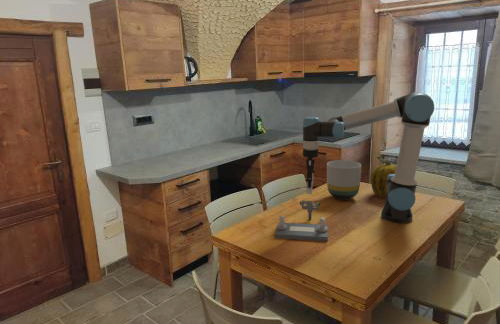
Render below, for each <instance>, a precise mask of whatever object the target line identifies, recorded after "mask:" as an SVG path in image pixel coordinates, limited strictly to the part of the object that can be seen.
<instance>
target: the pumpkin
mask: <svg viewBox="0 0 500 324" xmlns="http://www.w3.org/2000/svg"><path fill="white" fill-rule="evenodd" d="M381 157H382V156H381V155H379V154H378V155H377V157H376V159H377V160H379V161H380V162H382V164H378V165H377V166H375V168H374V169H373V170H372V172H371V176H370V185H371V189H372V191H373V193H374V194H375V195H376V196H377V197H380V198H384V199H386V187H387V176H388V175H389V174H395V172H396V167H397V164H392V163H390V161H388V160H387V159H385V158H381Z"/></svg>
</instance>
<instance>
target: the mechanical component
mask: <svg viewBox="0 0 500 324" xmlns="http://www.w3.org/2000/svg"><path fill="white" fill-rule="evenodd" d="M299 205H300V206H301V209H302V210H306V211H307V213H308V221H309V222H310V221H312V213H313V211H318V210H319V206H321V202H319V201H317V203H316V204H315V203H314V201H313V200H301V201H300V202H299Z"/></svg>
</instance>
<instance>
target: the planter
mask: <svg viewBox="0 0 500 324" xmlns="http://www.w3.org/2000/svg"><path fill="white" fill-rule="evenodd" d="M361 175H362V164H361V162H357V161H354V160H348V159H347V160H346V159H340V160H339V159H337V160H331V161H328V162H326V186H327V190H328V193H329V194H330V196H332V197H333V198H335V200H339V201H348V200H351V199H353V198H355V197H356V196H357V195H358V194H359V193H358V192H359V190H360V188H361V187H360V186H361V178H362V176H361Z"/></svg>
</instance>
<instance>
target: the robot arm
mask: <svg viewBox="0 0 500 324" xmlns="http://www.w3.org/2000/svg"><path fill="white" fill-rule="evenodd" d="M434 112H435V104H434V100H433V99H432V97H431V96H429V95H428V94H426V93H424V92H421V91H414V92H410V93H407V94H406V95H403V96H400V97H397V98H394V100H393V101H389V102H386V103H383V104H379V105H376V106H372V107H368V108H365V109H361V110H358V111H353V112H350V113H347V114H343V115H340V116H337V117H335V116H334V117H330V118H329V119H328V120H327V121H320V119H319V117H317V116H306V117H304V118H303V122H302V123H303V125H302V142H301V144H302V148H303V149H302V156H303V157H304V158H307V159H306V160H305V162H306V163H305V164H306V179H305V182H306V195H313V187H314V174H315V170H314V166H315V159H314V158H317V157H319V138H335V139H336V138H343V137H344V134H345V131H347V130H351V129H356V128H358V127H361V126H362V127H363V126H365V125H370V124H374V123H377V122H381V121H384V120H389V119H393V118H400V119H401V124H402V125H403V129H402V136H401V139H400V147H399V152H398V156H397V157H398V158H397V162H396V165H397V167H396V172H395V174H389V175H388V176H387V187H386V198H385V202H384V205H383V207H382V210H381V213H380V217H381V219H383V220H384V221H387V222H391V223H395V224H396V223H397V224H407V223H410V222H412V221H413V212H412V207H414V205H415V203H416V189H417V186H418V185H417V184H418V183H417V180H415V177H416V173H417V172H416V171H417V167H418V162H419V158H420V153H421V148H422V147H421V146H422V142H423V139H424V138H423V137H424V134H425V133H424V132H425V129H426V128H427V127H429V126H430V122H431V116H433V114H434Z"/></svg>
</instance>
